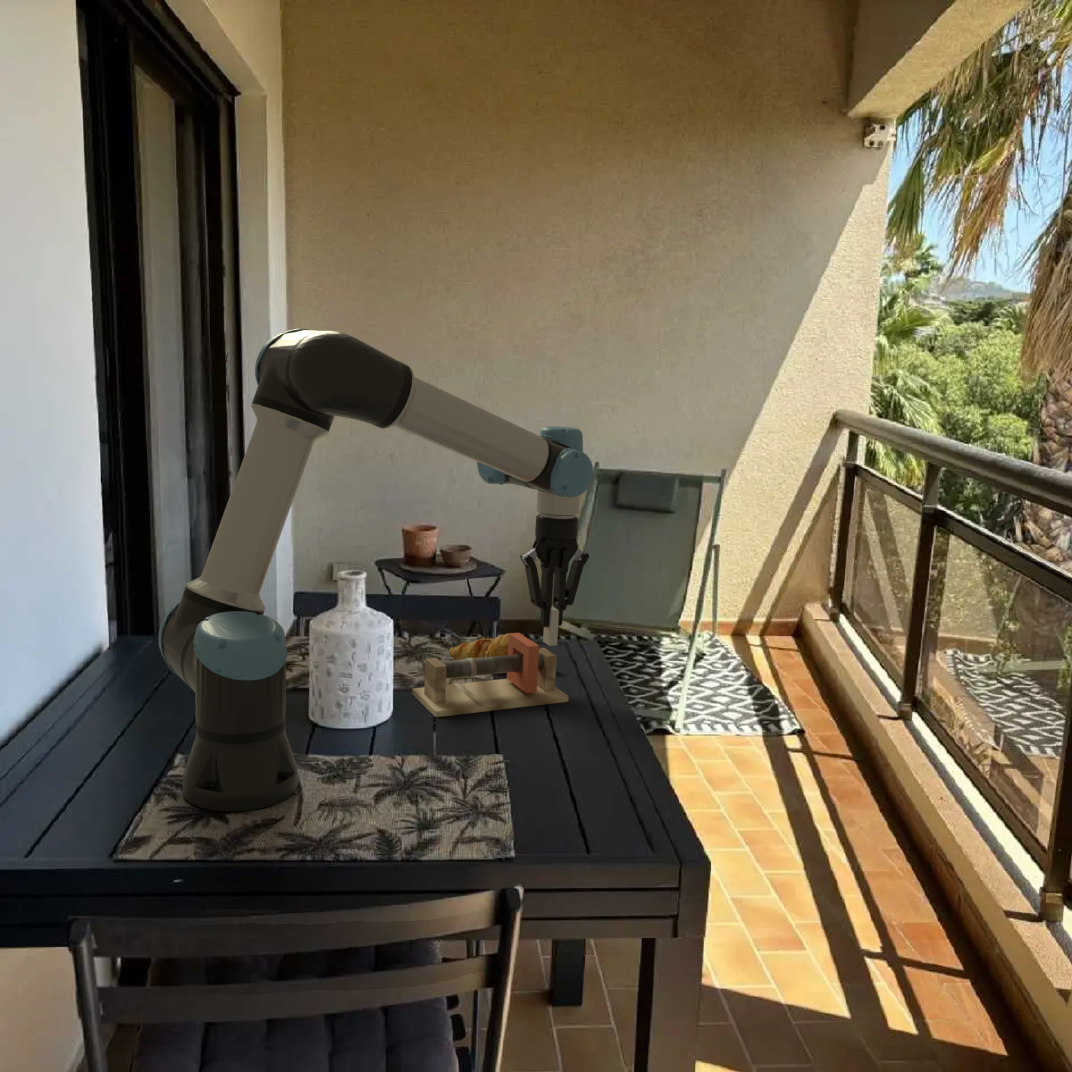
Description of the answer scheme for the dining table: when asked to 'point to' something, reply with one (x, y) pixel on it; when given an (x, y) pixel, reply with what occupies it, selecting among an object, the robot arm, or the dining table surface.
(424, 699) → the pipe jig
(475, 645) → the croissant
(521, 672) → the ring
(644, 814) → the dining table surface
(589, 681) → the dining table surface
